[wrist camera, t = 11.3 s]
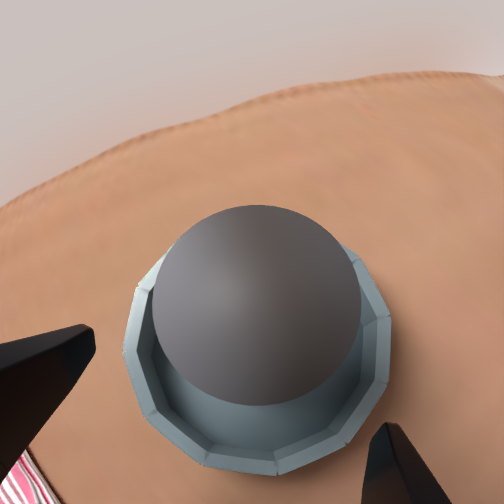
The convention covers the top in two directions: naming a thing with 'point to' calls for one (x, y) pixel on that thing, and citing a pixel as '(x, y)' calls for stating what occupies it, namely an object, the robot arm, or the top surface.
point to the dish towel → (26, 485)
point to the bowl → (260, 417)
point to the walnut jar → (256, 305)
